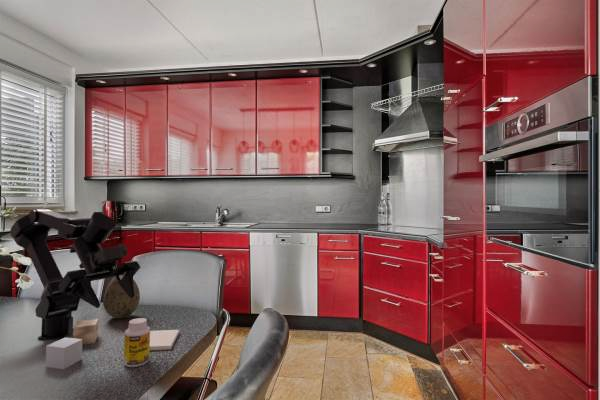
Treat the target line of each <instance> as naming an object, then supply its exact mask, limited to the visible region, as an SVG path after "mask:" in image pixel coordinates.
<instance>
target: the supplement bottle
mask: <svg viewBox="0 0 600 400" xmlns="http://www.w3.org/2000/svg"><path fill="white" fill-rule="evenodd" d="M150 331H151V327H150V326H148V319H147V318H145V317H138V318H133V319H130V320H129V321H128V328H127V329H125V331H124V343H123V344H124V345H123V346H124V347H123V349H124V350H123V365H124V366H126V367H128V368H136V367H141V366H143V365H145V364H147V363H148V362H149V360H150V350H149V348H150Z"/></svg>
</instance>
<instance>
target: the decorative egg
mask: <svg viewBox="0 0 600 400" xmlns="http://www.w3.org/2000/svg"><path fill="white" fill-rule="evenodd" d="M119 282H120V281H119V280H117V279H116V277H112V279H111V280H110V281H109V283H108V284H107V286H106V288H105V291H104V294H103V308H104V310H105V312H106V314H108V315H109V316H110V317H112V318H115V319H119V320H120V319H125V318H128V317H129V316H131V315H132V314H133V313H134V312H135V311H136V309H137V308H138V306H139V304H140V300H141V299H140V298H141V294H140V293H141V292H140V289H139V286H138V284H137V282H136V281H135V279H134V278H133V286H134V297H133V298H132V299H131V298H130V297H129V296H128V295H127V294H126V292H125V291H124V290H123V289H122V287H121V286H120V285H119V284H118V283H119Z"/></svg>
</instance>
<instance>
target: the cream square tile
mask: <svg viewBox="0 0 600 400" xmlns="http://www.w3.org/2000/svg"><path fill="white" fill-rule="evenodd" d="M179 334H180V329H166V330H165V329H164V330H162V329H161V330H150V348H149V351H164V350H165V351H166V350H171V349H172V348H173V345H174V344H175V341H176V340H177V338H178V336H179Z"/></svg>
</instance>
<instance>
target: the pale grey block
mask: <svg viewBox="0 0 600 400" xmlns="http://www.w3.org/2000/svg"><path fill="white" fill-rule="evenodd" d="M45 348H46V349H45V350H46V352H45V367H46V368H50V369H58V370H59V369H60V370H66V369H67V368H69V367H70V366H72V365H75V364H76V363H78V362H79V361H82V359H83V344H82V339H76V338H73V337H66V336H65V337H64V338H60V339H59V340H58V339H57V340H56V341H54V342H51V343H49V344H47V345H46V347H45Z"/></svg>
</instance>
